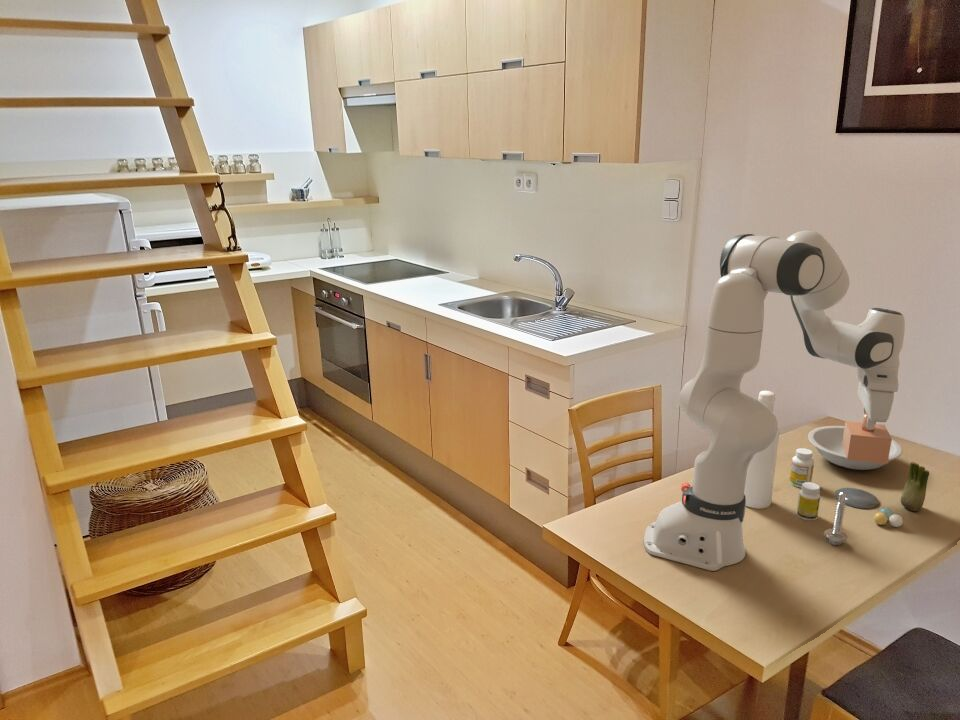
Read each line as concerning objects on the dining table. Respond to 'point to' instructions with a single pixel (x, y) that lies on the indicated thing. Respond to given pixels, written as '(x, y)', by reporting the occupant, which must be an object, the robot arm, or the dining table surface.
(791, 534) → the dining table surface
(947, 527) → the dining table surface
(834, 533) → the screw
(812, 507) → the supplement bottle
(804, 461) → the supplement bottle
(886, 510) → the marble teal
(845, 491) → the gray glossy dome
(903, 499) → the fennel bulb
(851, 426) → the terracotta cover
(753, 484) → the bottle
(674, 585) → the dining table surface
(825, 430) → the soup bowl
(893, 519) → the marble ivory
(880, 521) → the marble amber
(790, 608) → the dining table surface
